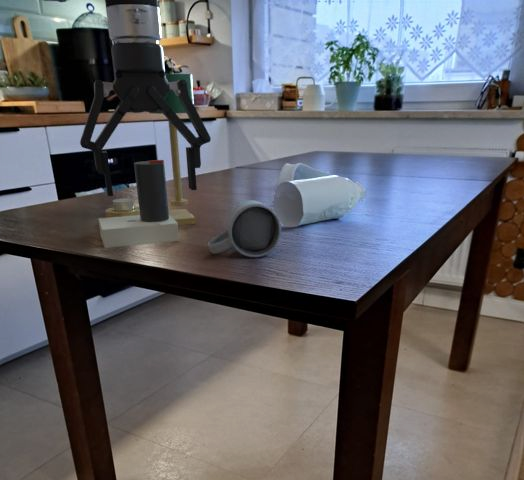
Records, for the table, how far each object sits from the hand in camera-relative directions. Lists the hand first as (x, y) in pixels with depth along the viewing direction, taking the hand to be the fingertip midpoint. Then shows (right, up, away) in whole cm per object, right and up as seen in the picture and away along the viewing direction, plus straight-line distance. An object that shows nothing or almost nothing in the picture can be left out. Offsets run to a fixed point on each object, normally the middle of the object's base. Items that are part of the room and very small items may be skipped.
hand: (152, 192), depth 85 cm
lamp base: (-3, -2, +13) cm, 14 cm away
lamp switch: (-7, 0, +10) cm, 13 cm away
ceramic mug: (+15, -11, -6) cm, 20 cm away
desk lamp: (+2, +2, +14) cm, 14 cm away
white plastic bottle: (+29, -1, +13) cm, 32 cm away
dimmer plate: (-3, -7, +2) cm, 8 cm away
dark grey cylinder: (0, -4, +2) cm, 4 cm away
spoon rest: (+28, +13, +44) cm, 53 cm away
